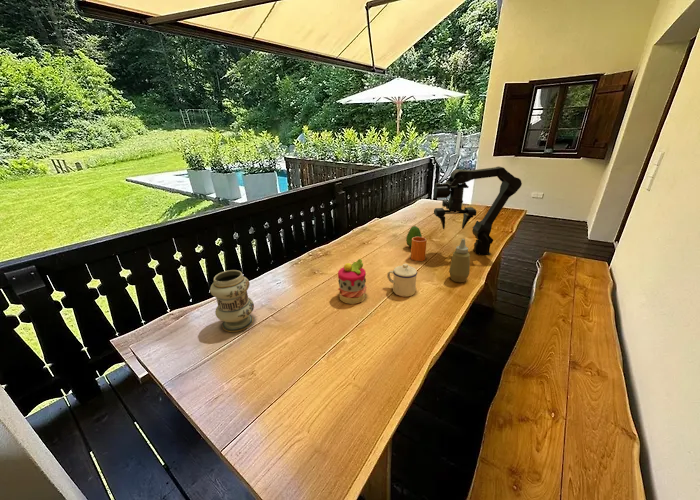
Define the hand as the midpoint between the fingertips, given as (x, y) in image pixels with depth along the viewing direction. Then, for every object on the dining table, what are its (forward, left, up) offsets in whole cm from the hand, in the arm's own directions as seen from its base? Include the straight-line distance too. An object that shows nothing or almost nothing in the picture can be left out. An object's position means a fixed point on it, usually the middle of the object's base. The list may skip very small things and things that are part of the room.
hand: (453, 228), depth 147 cm
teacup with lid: (+29, +37, -13) cm, 49 cm away
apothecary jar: (+86, +59, -13) cm, 106 cm away
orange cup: (+17, +6, -13) cm, 23 cm away
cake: (+48, +42, -13) cm, 66 cm away
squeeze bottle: (+4, +28, -13) cm, 32 cm away
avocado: (+17, -8, -13) cm, 23 cm away
